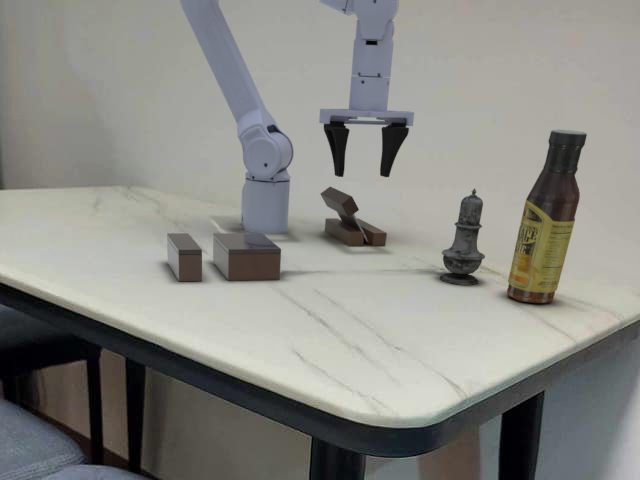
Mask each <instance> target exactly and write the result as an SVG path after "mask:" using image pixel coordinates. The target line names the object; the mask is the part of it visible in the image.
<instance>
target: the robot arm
mask: <svg viewBox="0 0 640 480" xmlns="http://www.w3.org/2000/svg"><path fill="white" fill-rule="evenodd" d="M179 1H180V6H181V8H182V11H183V13H184V15H185V17H186V19H187V22H188V23H189V26H190V28H191V30H192V32H193V34H194V36H195V38H196V40H197V43H198V45H199V46H200V48H201V51H202V53H203V55H204V57H205V59H206V61H207V63H208V66H209V67H210V69H211V72H212V74H213V76H214V78H215V80H216V83H217V85H218V86H219V89H220V91H221V93H222V95H223V97H224V99H225V102H226V103H227V106H228V108H229V110H230V112H231V115H232V116H233V118H234V120H235V123H236V128H237V129H236V130H237V138H238V141H239V142H240V145H241V149H242V160H243V165H244V167H245V169H246V170H247V172H245V177H244V179H245V180H244V181H245V182H244V184H243V186H242V189H241V205H240V206H241V213H240V224H241V226H243V230H244V231H245V232H248V233H262V234H263V235H282V234H286V233H287V232H288V226H289V225H288V224H289V210H290V209H289V207H290V205H289V204H290V191H291V189H290V188H291V175H290V173H289V172H288V168H289V167H290V165H291V164H292V162H293V159H294V153H295V149H294V145H293V142H292V140H291V138H290V137H289V136H288V135H287V134H285V133H284V132H283V131H282V130H281V129H280V127H279V126H278V123H277V121H276V119H275V118H274V117H273V115H272V114H271V113H270V112H269V110H268V109H267V108H266V105H265V103H264V101H263V99H262V97H261V94H260V92H259V90H258V88H257V86H256V83H255V81H254V79H253V77H252V75H251V73H250V70H249V68H248V66H247V64H246V62H245V60H244V57H243V55H242V52H241V51H240V48H239V47H238V44H237V42H236V40H235V38H234V35H233V33H232V31H231V29H230V27H229V24H228V22H227V20H226V18H225V15H224V14H223V12H222V9H221V7H220V4H219V2H220V0H179ZM316 1H317V2H319V3H321V4H324V5H325V6H327V7H330V8H332V9H333V10H336V11H338V12H339V13H342V14H344V15H346V16H348V17H350V16H353V15H355V16H356V18H357V19H356V25H355V26H356V27H355V28H356V29H355V38H354V40H353V49H352V51H353V52H352V61H351V77H350V87H349V88H350V90H349V100H348V108H319V119H318V120H319V123H318V124H323V131H324V134H325V136H326V139H327V142H328V146H329V149H330V153H331V156H332V163H333V171H334V176H335V177H338V178H344V174H345V167H346V166H345V165H346V163H345V162H346V150H347V144H348V139H349V134H350V131H351V130H350V128H348V127H347V126H346V125H368V126H369V125H371V126H372V125H373V126H382V127H381V157H380V167H379V176H380V177H384V178H389V177H390V175H391V171H392V169H393V166H394V163H395V160H396V157H397V155H398V153H399V151H400V149H401V147H402V145H403V144H404V142H405V140H406V138H407V137H408V135H409V132H410V127H413V126H414V120H415V112H414V111H407V110H405V111H404V110H388V102H389V92H390V83H391V75H392V74H391V73H392V64H393V63H392V62H393V53H394V40H393V37H394V34H395V22H394V19H395V17H396V16H397V14H398V11H399V5H400V0H316ZM358 118H370V119H371V118H373V119H374V118H375V119H376V120H359V119H358Z"/></svg>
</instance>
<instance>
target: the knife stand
mask: <svg viewBox="0 0 640 480" xmlns="http://www.w3.org/2000/svg"><path fill="white" fill-rule="evenodd" d="M357 220H358V222H359V224H360V226H361V228H362V230H363V231H364V233H365V235H366V237H367V239H368V241H369V243H366V242H364V241H363V240H364V233H363V232H361V231H360V230H358V229H356V228H354V227H352V226H350V225H349V224H347V223H345V222H343V221H342V220H341V219H340V218H338V217H337V218H332V217H331V218H329V217H328V218H327V217H326V218H325V222H324V232H325V233H326V234H329V235H330V236H331V237H334V238H335V239H336V240H338V241H340V242H341V243H343V244H345V245H346V246H348V247H349V248H351V247H352V248H355V247H356V248H361V247H363V248H364V247H367V248H368V247H369V248H370V247H371V248H373V247H386V245H387V244H386V243H387V235H388V233H387V232H386V231H384V230H382V229H380V228H378V227H376V226H375V225H373V224H370V223H368V222H367V221H364V220H363V219H361V218H357Z"/></svg>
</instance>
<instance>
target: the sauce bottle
mask: <svg viewBox="0 0 640 480" xmlns="http://www.w3.org/2000/svg"><path fill="white" fill-rule="evenodd" d="M587 136H588V133H587V132H584V131H579V130H571V129H560V128H559V129H558V128H557V129H552V130H550V134H549V137H548V141H547V142H548V149H547V153H546V158H545V161H544V164H543V168H542V170H541V172H540V173H539V175H538V176H537V179H536V180H535V182H534V184H533V186H532V188H531V190H530V191H529V193H528V195H527V197H526V199H525V201H524V205H523V206H524V207H523V210H522V215H521V219H520V220H521V221H520V224H519V229H518V233H517V238H516V242H515V246H514V247H515V248H514V251H513V256H512V261H511V264H510V265H511V266H510V269H509V270H510V271H509V275H508V280H507V282H508V285H507V290H506V294H507V296H508V297H510V298H512V299H513V300H516V301H518V302H522V303H530V304H549V303H551V302H552V301H553V300H554V298H555V294H556V291H558V288H559V284H560V279H561V275H562V272H563V269H564V264H565V261H566V260H565V259H566V257H567V253H568V249H569V244H570V241H571V238H572V233H573V229H574V226H575V222H576V218H575V217H576V215H577V211H578V206H579V202H580V198H581V197H580V196H581V195H580V194H581V193H580V188H579V186H578V181H577V178H576V173H577V172H578V169H579V168H578V165H579V161H580V157H581V154H582V150H583V148H584V146H585V145H586V140H587Z"/></svg>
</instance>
